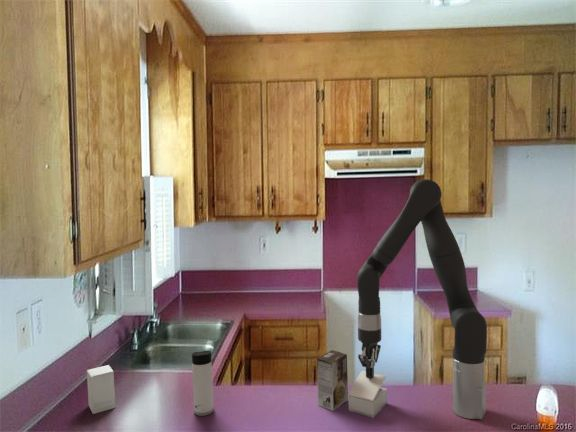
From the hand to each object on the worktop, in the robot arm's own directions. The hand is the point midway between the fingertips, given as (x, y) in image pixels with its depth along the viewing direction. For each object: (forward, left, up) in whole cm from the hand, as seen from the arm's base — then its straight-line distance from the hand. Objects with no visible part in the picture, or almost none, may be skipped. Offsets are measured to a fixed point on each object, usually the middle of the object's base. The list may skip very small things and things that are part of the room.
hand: (370, 377), depth 145 cm
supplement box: (+76, +49, -9) cm, 91 cm away
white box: (0, +2, -9) cm, 9 cm away
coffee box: (+11, +6, -9) cm, 15 cm away
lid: (0, +2, -2) cm, 3 cm away
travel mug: (+44, +33, -9) cm, 55 cm away
